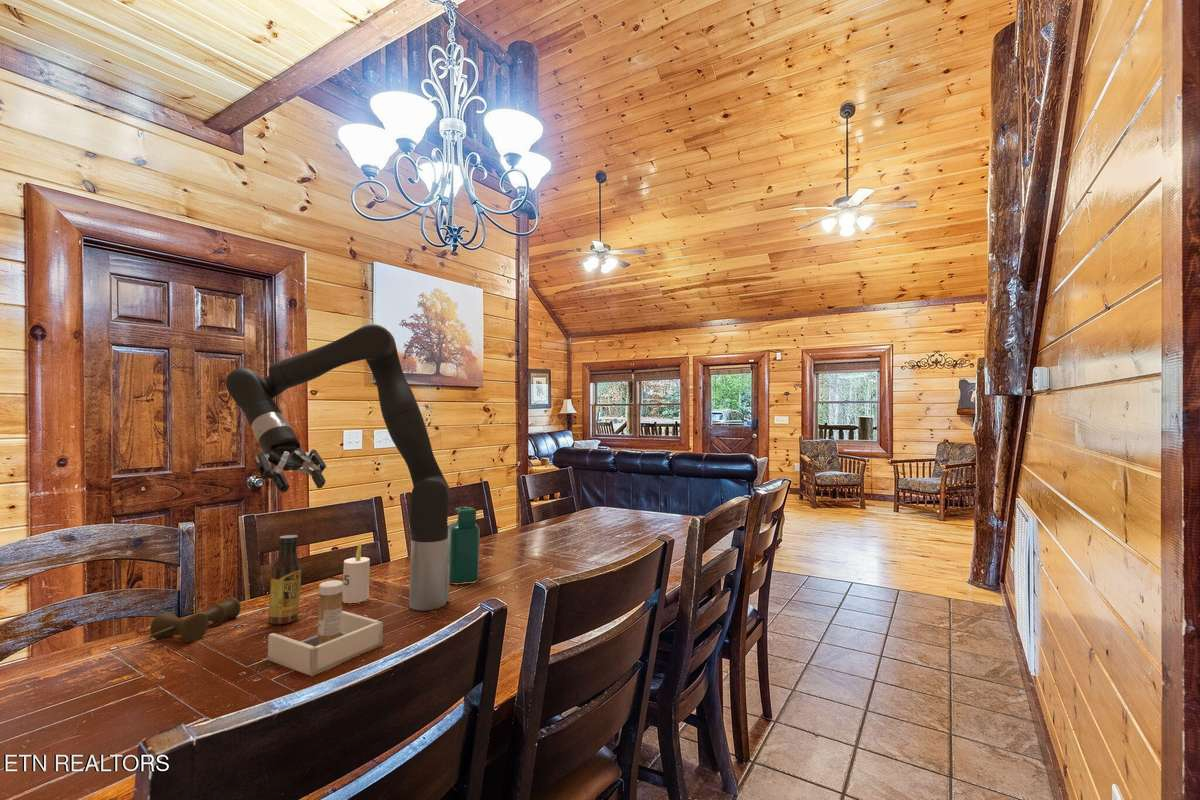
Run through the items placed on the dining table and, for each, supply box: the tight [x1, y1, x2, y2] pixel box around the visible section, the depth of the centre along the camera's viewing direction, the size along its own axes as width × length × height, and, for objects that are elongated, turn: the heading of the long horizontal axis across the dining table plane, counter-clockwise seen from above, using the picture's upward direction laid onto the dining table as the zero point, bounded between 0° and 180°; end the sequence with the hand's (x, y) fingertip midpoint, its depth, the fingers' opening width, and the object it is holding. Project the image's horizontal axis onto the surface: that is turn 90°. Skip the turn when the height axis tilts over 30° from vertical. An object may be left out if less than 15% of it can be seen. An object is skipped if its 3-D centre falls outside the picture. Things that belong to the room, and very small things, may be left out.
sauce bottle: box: [268, 534, 302, 626], centre depth 128 cm, size 6×6×20 cm
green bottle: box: [447, 506, 481, 584], centre depth 161 cm, size 10×8×22 cm
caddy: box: [267, 610, 384, 677], centre depth 112 cm, size 16×14×5 cm
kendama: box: [148, 596, 241, 644], centre depth 121 cm, size 6×10×20 cm
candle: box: [342, 542, 371, 604], centre depth 143 cm, size 6×6×15 cm
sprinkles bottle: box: [317, 579, 343, 645], centre depth 112 cm, size 5×5×14 cm
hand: (304, 488), depth 122 cm, fingers open, 8 cm apart
